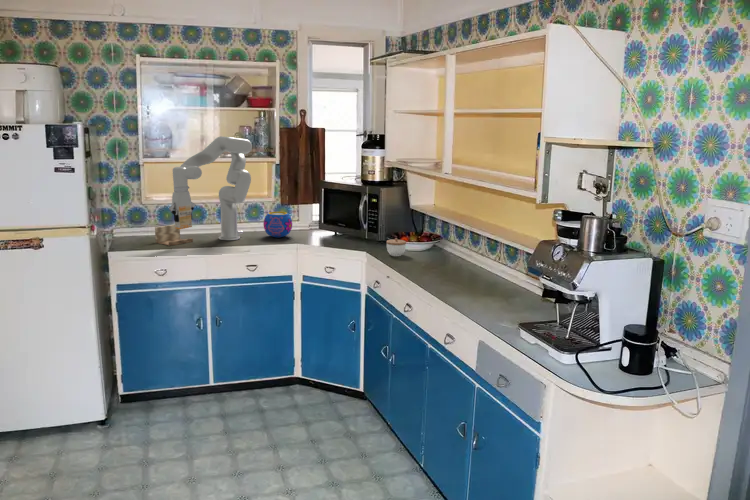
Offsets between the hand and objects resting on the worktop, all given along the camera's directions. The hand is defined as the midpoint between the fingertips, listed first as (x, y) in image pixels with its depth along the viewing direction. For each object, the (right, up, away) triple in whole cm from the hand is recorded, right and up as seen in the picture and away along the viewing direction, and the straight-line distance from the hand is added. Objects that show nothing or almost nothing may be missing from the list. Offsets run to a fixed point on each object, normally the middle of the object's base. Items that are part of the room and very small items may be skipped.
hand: (183, 220), depth 361 cm
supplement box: (0, -4, +1) cm, 5 cm away
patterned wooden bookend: (-9, -12, +13) cm, 20 cm away
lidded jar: (+119, -20, -4) cm, 120 cm away
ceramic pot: (+47, -9, +37) cm, 61 cm away
